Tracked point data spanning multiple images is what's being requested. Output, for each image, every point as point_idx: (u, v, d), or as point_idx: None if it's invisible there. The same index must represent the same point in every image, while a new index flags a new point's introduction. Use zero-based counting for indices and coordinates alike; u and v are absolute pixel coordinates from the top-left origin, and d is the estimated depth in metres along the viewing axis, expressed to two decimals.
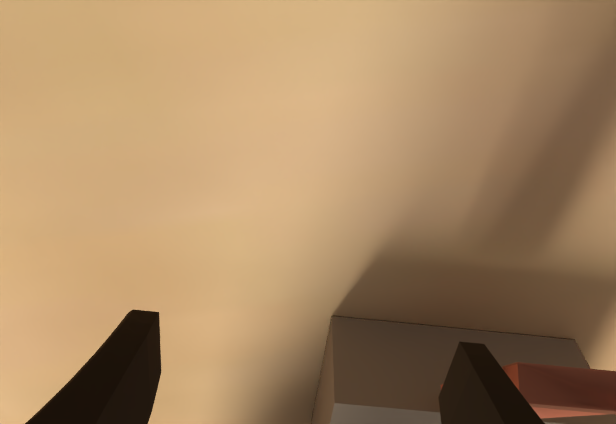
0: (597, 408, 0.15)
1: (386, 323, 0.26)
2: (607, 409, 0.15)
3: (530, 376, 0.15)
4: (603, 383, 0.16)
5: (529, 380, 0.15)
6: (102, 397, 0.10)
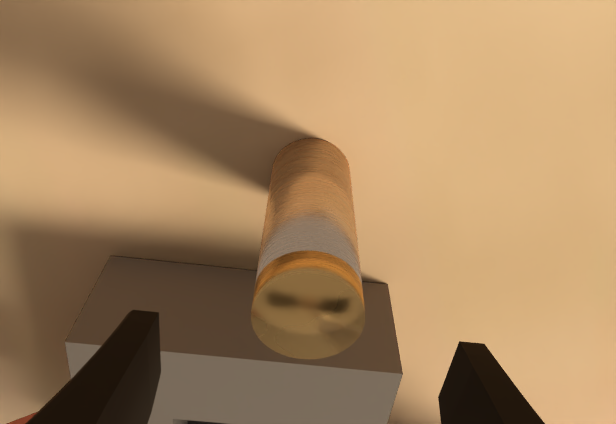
0: None
1: None
2: None
3: None
4: None
5: None
6: (102, 397, 0.10)
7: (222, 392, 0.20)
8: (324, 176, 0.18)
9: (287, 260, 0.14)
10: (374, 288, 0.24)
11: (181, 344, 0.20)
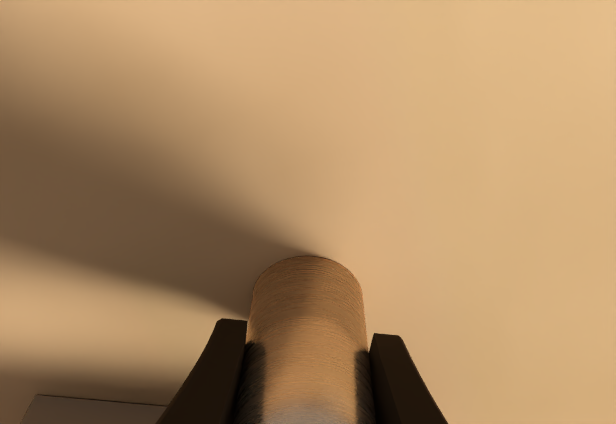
0: None
1: None
2: None
3: None
4: None
5: None
6: (215, 407, 0.10)
7: None
8: (327, 337, 0.12)
9: None
10: None
11: None
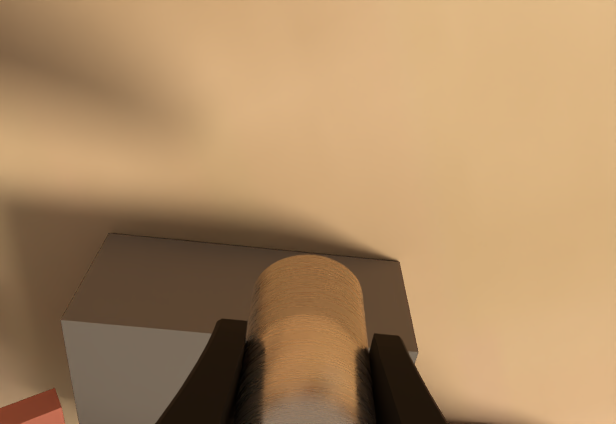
0: None
1: None
2: None
3: None
4: None
5: None
6: (215, 407, 0.10)
7: None
8: (327, 336, 0.12)
9: None
10: (386, 266, 0.22)
11: (184, 322, 0.19)
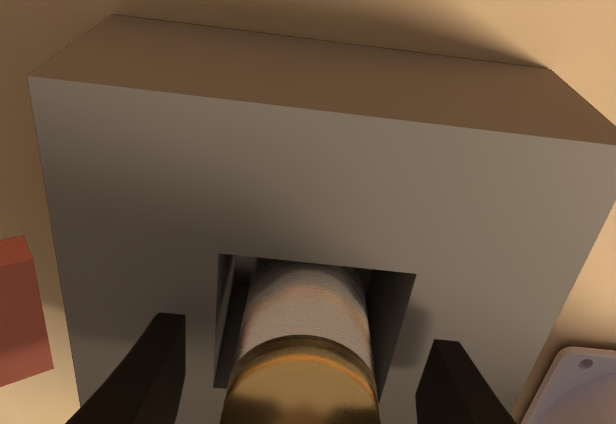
0: None
1: None
2: None
3: None
4: None
5: None
6: (136, 400, 0.10)
7: (309, 194, 0.12)
8: None
9: (275, 347, 0.10)
10: (533, 70, 0.15)
11: (240, 93, 0.11)
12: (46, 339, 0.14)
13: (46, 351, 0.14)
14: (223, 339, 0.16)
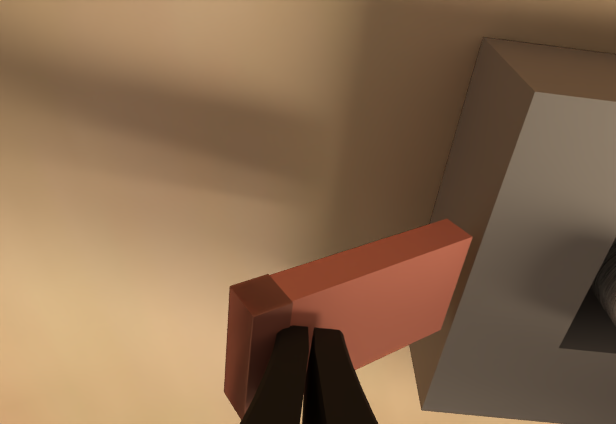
0: (249, 360, 0.12)
1: None
2: (249, 351, 0.12)
3: (230, 393, 0.14)
4: (234, 332, 0.13)
5: (233, 397, 0.14)
6: (293, 414, 0.10)
7: None
8: None
9: None
10: None
11: None
12: (448, 304, 0.17)
13: (443, 315, 0.17)
14: None
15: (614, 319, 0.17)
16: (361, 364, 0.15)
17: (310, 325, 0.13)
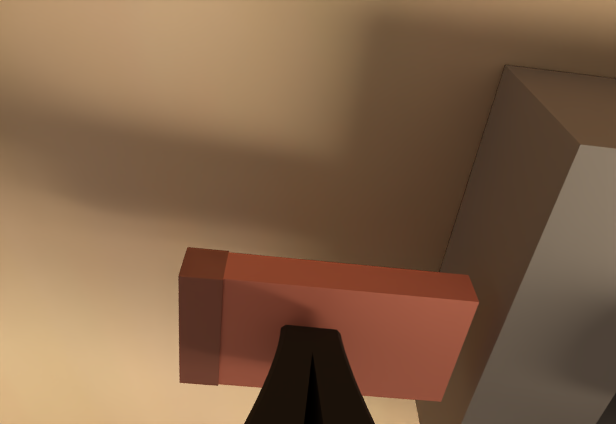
0: (179, 319, 0.13)
1: None
2: (179, 310, 0.13)
3: None
4: None
5: None
6: (297, 414, 0.10)
7: None
8: None
9: None
10: None
11: None
12: (449, 374, 0.14)
13: (443, 384, 0.14)
14: None
15: None
16: None
17: (249, 314, 0.13)
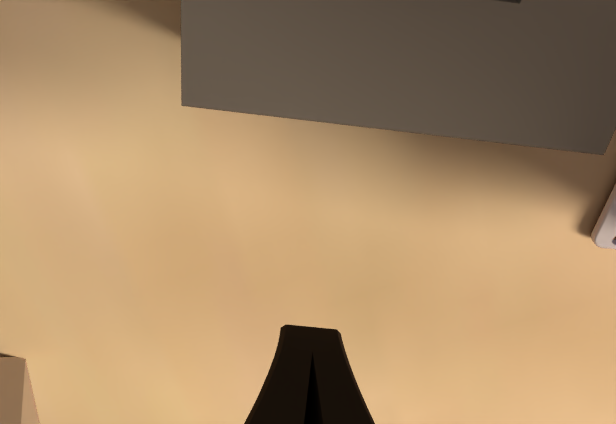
0: None
1: None
2: None
3: None
4: None
5: None
6: (297, 414, 0.10)
7: None
8: None
9: None
10: None
11: None
12: None
13: None
14: None
15: None
16: None
17: None
